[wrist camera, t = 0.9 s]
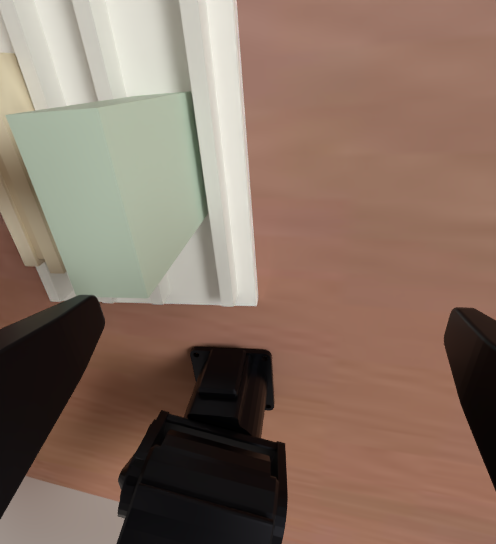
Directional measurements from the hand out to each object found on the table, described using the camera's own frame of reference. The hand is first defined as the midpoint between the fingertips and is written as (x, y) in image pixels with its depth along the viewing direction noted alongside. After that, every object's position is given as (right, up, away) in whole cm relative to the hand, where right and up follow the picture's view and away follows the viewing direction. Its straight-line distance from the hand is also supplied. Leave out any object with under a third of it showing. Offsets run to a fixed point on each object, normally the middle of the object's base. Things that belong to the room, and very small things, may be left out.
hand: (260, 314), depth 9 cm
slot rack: (-8, +8, +12) cm, 16 cm away
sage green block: (-4, +7, +10) cm, 14 cm away
